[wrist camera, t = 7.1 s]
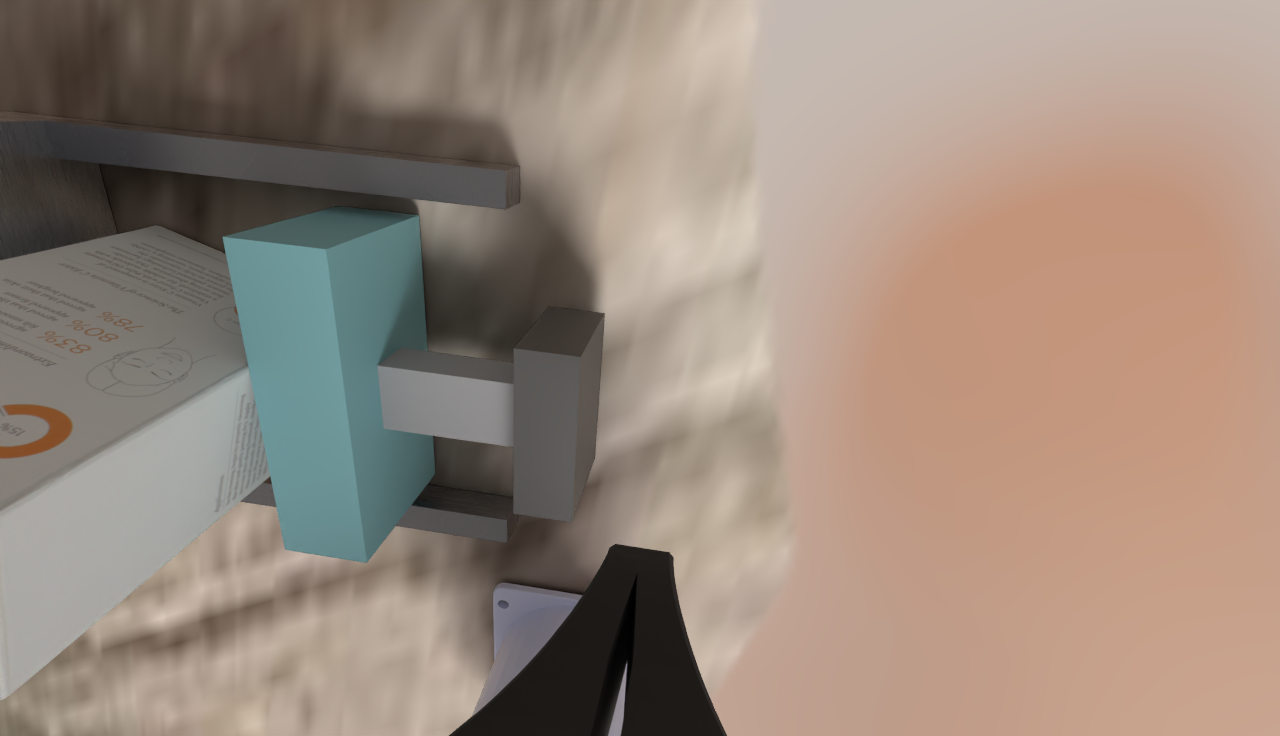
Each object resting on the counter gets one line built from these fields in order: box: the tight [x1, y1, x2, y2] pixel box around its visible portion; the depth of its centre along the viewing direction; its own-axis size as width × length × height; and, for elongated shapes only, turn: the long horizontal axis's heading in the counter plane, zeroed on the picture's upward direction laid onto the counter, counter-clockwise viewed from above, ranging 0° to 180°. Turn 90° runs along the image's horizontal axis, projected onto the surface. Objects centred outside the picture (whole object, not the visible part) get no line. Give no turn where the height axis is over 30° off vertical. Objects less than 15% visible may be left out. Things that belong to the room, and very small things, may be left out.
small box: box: [0, 225, 270, 700], centre depth 18 cm, size 8×6×13 cm
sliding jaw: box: [222, 206, 605, 563], centre depth 21 cm, size 11×10×6 cm
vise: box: [0, 111, 520, 543], centre depth 21 cm, size 15×19×6 cm
